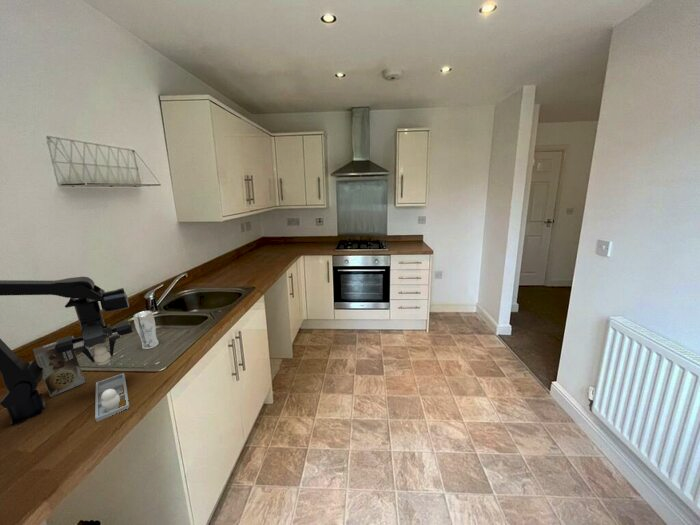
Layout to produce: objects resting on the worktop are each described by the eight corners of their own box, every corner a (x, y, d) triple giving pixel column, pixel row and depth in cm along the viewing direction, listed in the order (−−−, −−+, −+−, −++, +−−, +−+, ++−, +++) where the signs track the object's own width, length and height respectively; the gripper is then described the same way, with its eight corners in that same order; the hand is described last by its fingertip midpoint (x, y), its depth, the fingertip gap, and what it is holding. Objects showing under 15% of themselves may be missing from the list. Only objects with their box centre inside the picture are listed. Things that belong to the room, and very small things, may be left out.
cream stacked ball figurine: (95, 367, 94) (89, 350, 93) (95, 362, 97) (90, 345, 96) (112, 362, 97) (107, 345, 95) (112, 356, 100) (107, 340, 99)
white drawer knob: (103, 415, 86) (97, 397, 84) (103, 407, 89) (98, 390, 88) (122, 408, 89) (117, 390, 87) (121, 400, 92) (116, 383, 90)
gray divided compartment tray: (96, 422, 84) (95, 418, 83) (97, 386, 100) (95, 382, 100) (129, 409, 88) (128, 404, 88) (124, 376, 105) (123, 372, 105)
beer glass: (162, 344, 126) (154, 312, 123) (143, 351, 121) (134, 318, 118) (157, 339, 131) (149, 309, 127) (139, 346, 126) (130, 314, 122)
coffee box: (82, 376, 106) (69, 336, 102) (85, 383, 102) (72, 342, 98) (47, 390, 100) (32, 348, 96) (49, 397, 96) (33, 354, 92)
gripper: (45, 334, 81) (62, 382, 85) (127, 314, 93) (139, 357, 97) (50, 322, 90) (65, 366, 93) (125, 304, 101) (136, 345, 105)
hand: (103, 358), depth 97 cm, fingers closed on cream stacked ball figurine, 4 cm apart
